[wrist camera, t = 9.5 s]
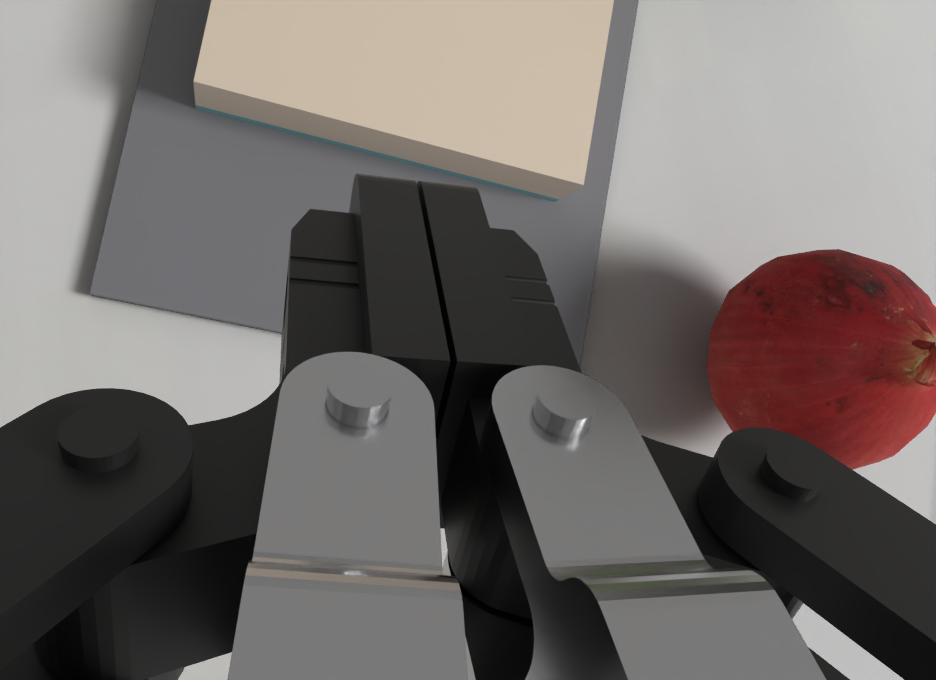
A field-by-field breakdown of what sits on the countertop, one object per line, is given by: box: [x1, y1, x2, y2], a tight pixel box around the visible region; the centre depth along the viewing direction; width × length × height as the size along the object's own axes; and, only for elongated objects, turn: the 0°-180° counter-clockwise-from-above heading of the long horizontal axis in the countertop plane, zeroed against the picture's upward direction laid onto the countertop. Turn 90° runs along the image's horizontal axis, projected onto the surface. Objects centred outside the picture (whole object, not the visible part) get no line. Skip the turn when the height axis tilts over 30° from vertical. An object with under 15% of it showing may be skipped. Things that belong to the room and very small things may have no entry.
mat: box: [90, 0, 638, 367], centre depth 24 cm, size 15×13×1 cm
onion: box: [706, 249, 936, 469], centre depth 23 cm, size 6×6×8 cm
